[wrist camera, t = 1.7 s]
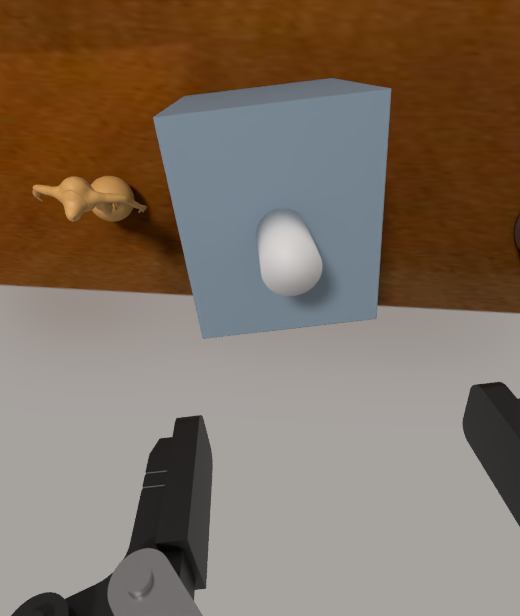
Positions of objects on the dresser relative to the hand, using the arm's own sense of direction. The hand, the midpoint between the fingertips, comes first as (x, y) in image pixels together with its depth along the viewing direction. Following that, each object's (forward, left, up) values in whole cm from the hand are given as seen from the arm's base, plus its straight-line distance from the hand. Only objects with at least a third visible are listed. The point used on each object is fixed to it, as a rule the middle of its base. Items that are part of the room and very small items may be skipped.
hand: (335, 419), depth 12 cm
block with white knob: (0, 0, -30) cm, 30 cm away
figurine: (+14, -1, -30) cm, 33 cm away
